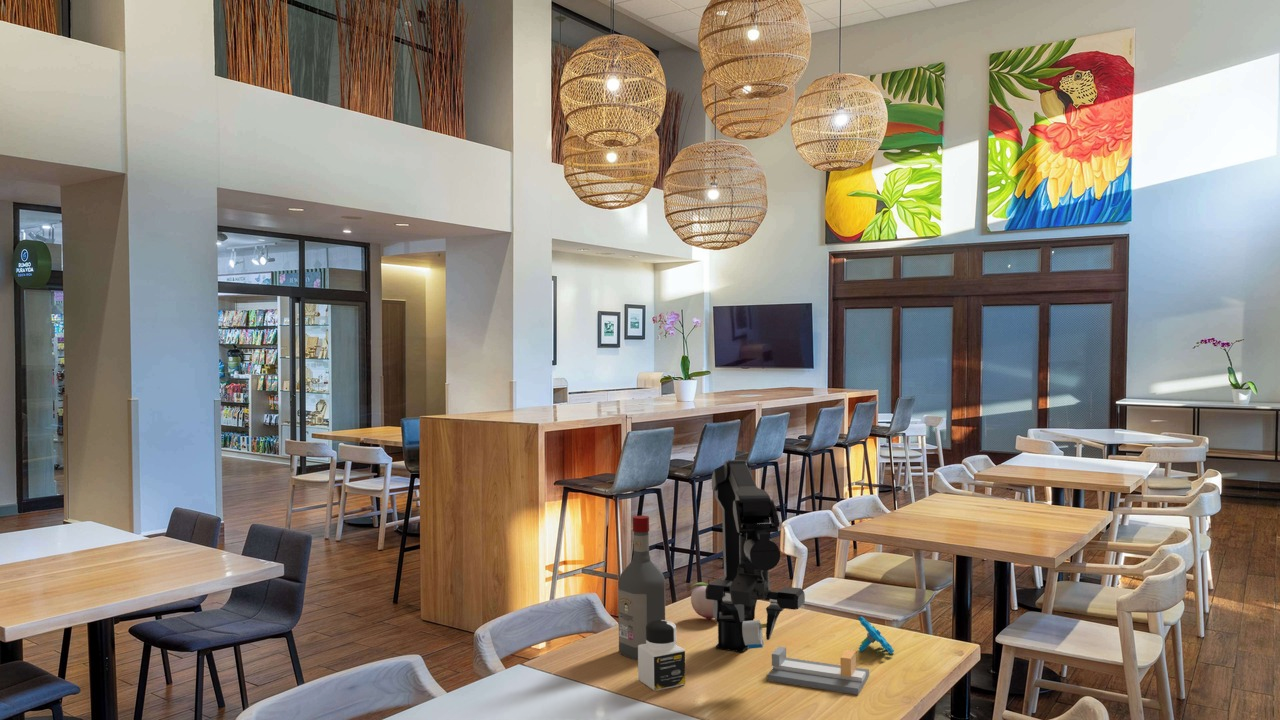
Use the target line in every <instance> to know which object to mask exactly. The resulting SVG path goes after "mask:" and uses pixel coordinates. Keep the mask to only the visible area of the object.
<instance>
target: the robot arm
mask: <svg viewBox="0 0 1280 720" xmlns="http://www.w3.org/2000/svg"><path fill="white" fill-rule="evenodd" d="M724 461H725V460H724ZM711 489H712V491H713V492H714V499H715V500H716V502H717V503H718V505H719V506H720V507H721V517H722V519H721V520H722V521H721V522H722V523H721V524H722V549H723V550H722V551H723V554H722V555H723V575H722V577H721V579H717V578H716V579H714V580H713V581H712V582H709V585H708V586H707V587H706V590H705V592H706V599H709V600H714V604H713V616H714V618H713V619H714V620H715V621H716V623H717V639H718V640H717V644H716V645H715V649H718V650H726V651H732V652H739V653H742V652H744V651H745V650H747V649H748V646H746V645H745V643H744V639H743V632H742V623H743V621H753V620H756V618H755V617H756V615H755V614H756V612H755V611H756V605H757V602H758V600H762V601H769V605H768V606H767V607H766V608H765V610H766V614H767V615H766V623H767V626H766V629H765V636H766V641H769V640H770V639H771V636H772V635H773V631H774V629H775V625H776V622H777V619H778V617H779V616H780V614H781V612H783V611H784V610H786V609H787V610H792V611H793V610H799V609H800V608H801V606H803V605H804V604H805V602H806V601H805V599H806V598H805V597H806V595H805V591H804V589H803V588H801V587H793V586H783V587H782V588H781V589H780V590H771V589H770V588H771V586H772V585H771V581H770V571H771V570H772V569H774V568H775V567H776V566H777V565H779V563H780V559H781V551H780V548H779V546H778V544H776V543H775V542H774V541H773V540H772V537H771V533H778V532H779V526H780V519H779V513H778V510H777V506H776V505H775V502H774V500H773V499H771V497H770V496H771V495H769V493H768V492H767V491H766V490H764V489H762V488H759V487H758V486H757V484H756V481H755V479H754V478H753V475H752V469H751V467H750V463H749V461H748V460H745V459H730V460H727V461H725V462H724V463H723V465H721V466H719V467H717V468H715V469H713V472H712V475H711ZM719 612H721V613H719Z"/></svg>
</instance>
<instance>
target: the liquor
mask: <svg viewBox="0 0 1280 720" xmlns="http://www.w3.org/2000/svg"><path fill="white" fill-rule="evenodd" d="M632 532H633V556H632V560H631V562H630V563H629V564H628V565H627V566H626V567H625V568H624V570H623V571H622V572H621V574H620V575H619V578H618V579H619V580H618V582H617V591H618V592H617V593H618V595H617V596H618V597H617V598H618V603H617V604H618V609H617V610H618V651H619V654H620V655H621V656H624V657H626V658H629V659H631V660H634V661H638V645H641V644H646V625H647V624H648V623H650V622H652V621H655V620H666V579H665V576H664V573H663V572H662V571H661V569H659V568H658V566H656V565H655V563H654V562H653V561H652V559H651V555H650V539H649V537H650V536H649V535H650V534H649V532H650V517H649V516H648V515H633V516H632Z"/></svg>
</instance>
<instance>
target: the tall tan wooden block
mask: <svg viewBox="0 0 1280 720" xmlns="http://www.w3.org/2000/svg"><path fill="white" fill-rule="evenodd" d="M839 659H840V660H839V661H840V665H841V676H846V677H851V676H852V675H853V673H854V672H855V670H856V668H857V651H856V650H852V649H844V651H843V653H842V654H841V655H840V657H839Z"/></svg>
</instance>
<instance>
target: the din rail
mask: <svg viewBox="0 0 1280 720" xmlns="http://www.w3.org/2000/svg"><path fill="white" fill-rule="evenodd" d="M771 666H772V669H771V670H770V671H769V672H768V673H767V674H766V675H767V678H766V679H767V682H775V683H779V684H780V683H781V684H787V685H794V686H799V687H806V688H812V689H820V690H825V691H831V692H837V693H844V694H849V695H856V696H859V694H860V693H861V691H862V689H863V688H864V686H865V683H866V682H867V680H868V678H869V677H870V669H868V668H867V669H866V668H862V667H856V670H855V672H854V673H853V675H852V676H851V677H846V676H841V664H840V665H839V664H835V663H828V662H827V663H825V662H821V661H820V662H818V661H813V660H812V661H810V660H805V659H799V658H792V657H787V647H786V646H781V645H780V646H777V647H776V648H775V649H774V651H772V653H771Z"/></svg>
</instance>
